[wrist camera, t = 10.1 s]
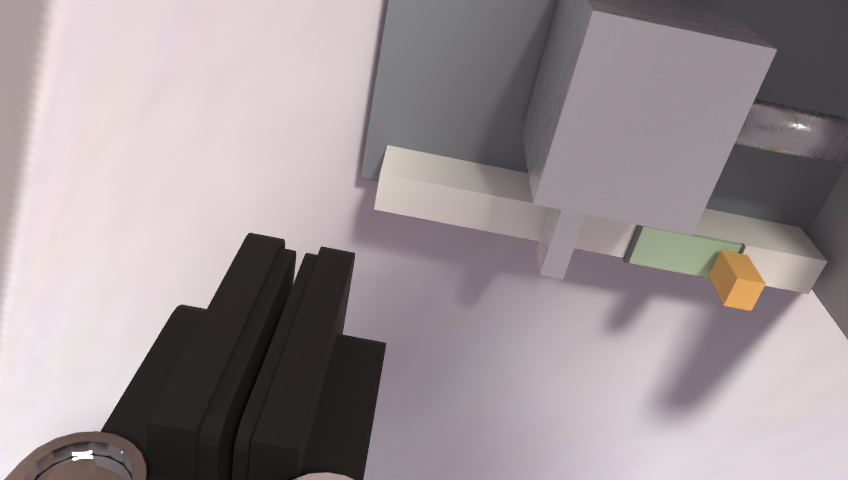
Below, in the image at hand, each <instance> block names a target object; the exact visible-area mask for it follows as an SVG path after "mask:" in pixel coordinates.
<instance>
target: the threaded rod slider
mask: <svg viewBox="0 0 848 480" xmlns="http://www.w3.org/2000/svg"><path fill="white" fill-rule="evenodd" d="M776 51H777V49H776V48H775V47H774V46H772V45H771V44H770V43H768V42H767V41H766V40H765V39H763V38H762V37H761V36H759V35H758V34H757V33H755V32H754V31H753V30H751V29H750V28H749V27H747V26H746V25H745V24H743V23H742V22H741V21H740V20H738V19H737V18H736V17H734V16H733V15H732V14H730V13H729V12H728V11H726V10H725V9H724V8H722V7H721V6H720V5H719V4H717V3H716V2H715V1H713V0H558V3H557V7H556V10H555V14H554V17H553V21H552V24H551V28H550V31H549V35H548V39H547V42H546V46H545V49H544V53H543V56H542V60H541V63H540V67H539V71H538V74H537V78H536V81H535V85H534V88H533V92H532V95H531V99H530V103H529V106H528V110H527V113H526V117H525V120H524V124H523V127H522V136H523V143H524V149H525V155H526V162H527V168H528V174H529V181H530V187H531V193H532V200H533V204H534V205H539V206H545V207H550V208H549V211H548V214H547V217H546V220H545V224H544V227H543V230H542V233H541V236H540V239H539V242H538V245H537V248H536V253H537V260H538V267H539V274H540V275H541V276H546V277H551V278H556V279H561V280H563V279H564V276H565V273H566V271H567V268H568V265H569V262H570V259H571V257H572V254H573V251H574V248H575V245H576V243H577V240H578V237H579V234H580V231H581V229H582V226H583V223H584V220H585V217H586V215H590V216H595V217H600V218H605V219H610V220H616V221H621V222H626V223H631V224H636V225H641V226H646V227H651V228H656V229H661V230H666V231H671V232H676V233H682V234H687V235H692V236H693V234H694V231H695V229H696V227H697V225H698V223H699V220H700V218H701V216H702V214H703V212H704V209H705V207H706V205H707V203H708V201H709V198H710V196H711V194H712V192H713V190H714V187H715V185H716V183H717V181H718V179H719V176H720V174H721V172H722V170H723V168H724V165H725V163H726V161H727V159H728V157H729V155H730V152H731V150H732V148H733V146H734V144H739V145H744V146H749V147H754V148H759V149H764V150H769V151H774V152H778V153H783V154H788V155H793V156H798V157H803V158H808V159H813V160H818V161H823V162H827V163H832V164H837V165H842V166H847V167H848V118H847V117H842V116H837V115H832V114H828V113H823V112H818V111H813V110H808V109H803V108H799V107H794V106H789V105H784V104H779V103H775V102H770V101H765V100H760V99H755V97H756V95H757V93H758V91H759V89H760V86H761V84H762V82H763V80H764V78H765V76H766V73H767V71H768V69H769V67H770V65H771V62H772V60H773V58H774V56H775V54H776Z"/></svg>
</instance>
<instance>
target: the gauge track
mask: <svg viewBox="0 0 848 480" xmlns="http://www.w3.org/2000/svg"><path fill="white" fill-rule="evenodd" d="M713 1H715V2H716V3H717V4H719V5H720V6H721V7H722V8H724V9H725V10H726V11H728V12H729V13H730V14H732V15H733V16H734V17H736V18H737V19H738V20H740V21H741V22H742V23H743V24H745V25H746V26H747V27H749V28H750V29H751V30H753V31H754V32H755V33H757V34H758V35H759V36H761V37H762V38H763V39H765V40H766V41H767V42H768V43H770V44H771V45H772V46H774V47H775V48H776V49H777V51H776V54H775V56H774V58H773V60H772V62H771V65H770V67H769V69H768V71H767V73H766V76H765V78H764V80H763V82H762V84H761V86H760V89H759V91H758V93H757V95H756V97H755V99H760V100H765V101H770V102H775V103H779V104H784V105H789V106H794V107H799V108H803V109H808V110H813V111H818V112H823V113H828V114H832V115H837V116H842V117H847V118H848V0H713ZM557 3H558V0H388V5H387V12H386V18H385V24H384V31H383V37H382V43H381V50H380V56H379V62H378V69H377V75H376V81H375V88H374V94H373V100H372V107H371V113H370V119H369V125H368V132H367V138H366V144H365V151H364V157H363V163H362V170H361V176H360V177H362V178H367V179H372V180H377V181H379V182H378V188H377V194H376V200H375V205H374V210H379V211H384V212H390V213H395V214H400V215H405V216H410V217H415V218H420V219H425V220H431V221H436V222H441V223H446V224H451V225H456V226H461V227H467V228H472V229H477V230H482V231H487V232H492V233H497V234H503V235H508V236H513V237H518V238H523V239H528V240H533V241H539V239H540V236H541V233H542V230H543V227H544V224H545V220H546V217H547V214H548V211H549V208H550V207H545V206H539V205H534V204H533V200H532V193H531V187H530V181H529V174H528V168H527V162H526V155H525V149H524V143H523V136H522V127H523V124H524V120H525V117H526V113H527V110H528V106H529V103H530V99H531V95H532V92H533V88H534V85H535V81H536V78H537V74H538V71H539V67H540V63H541V60H542V56H543V53H544V49H545V46H546V42H547V39H548V35H549V31H550V28H551V24H552V21H553V17H554V14H555V10H556V7H557ZM575 249H580V250H585V251H590V252H595V253H600V254H605V255H611V256H616V257H621V258H623V260H624V262H626V263H632V264H637V265H642V266H647V267H653V268H658V269H663V270H668V271H673V272H678V273H684V274H689V275H694V276H699V277H704V278H709V277H708V276H709V274H710V272H711V270H712V267H713V265H714V263H715V261H716V259H717V257H718V255H719V253H720V251H721V250H724V251H729V252H734V253H739V254H744V255H748V256H749V258H750V260H751V261H752V263H753V264H754V266H755V268H756V269H757V271H758V272H759V274H760V275H761V277H762V279H763V280H764V282H765V283H766V285H765V286H770V287H775V288H780V289H785V290H790V291H796V292H801V293H806V294H809V292H810V290H811V289H812V290H813V292H814V293H815V295H816V296H817V297H818V299H819V300H820V301H821V303H822V304H823V306H824V307H825V308H826V310H827V311H828V313H829V314H830V315H831V317H832V318H833V320H834V321H835V322H836V324H837V325H838V327H839V328H840V329H841V331H842V332H843V333H844V335H845V336H846V338H847V339H848V167H847V166H842V165H837V164H832V163H827V162H823V161H818V160H813V159H808V158H803V157H798V156H793V155H788V154H783V153H778V152H774V151H769V150H764V149H759V148H754V147H749V146H744V145H739V144H734V146H733V148H732V150H731V152H730V155H729V157H728V159H727V161H726V163H725V165H724V168H723V170H722V172H721V174H720V176H719V179H718V181H717V183H716V185H715V187H714V190H713V192H712V194H711V196H710V198H709V201H708V203H707V205H706V207H705V209H704V212H703V214H702V216H701V218H700V220H699V223H698V225H697V227H696V229H695V231H694V234H693V236H692V235H687V234H682V233H676V232H671V231H666V230H661V229H656V228H651V227H646V226H641V225H636V224H631V223H626V222H621V221H616V220H610V219H605V218H600V217H595V216H590V215H586V217H585V220H584V223H583V226H582V229H581V231H580V234H579V237H578V240H577V243H576V245H575Z"/></svg>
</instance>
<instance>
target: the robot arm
mask: <svg viewBox="0 0 848 480" xmlns="http://www.w3.org/2000/svg"><path fill="white" fill-rule="evenodd" d="M354 260H355V253H353V252H347V251H342V250H337V249H332V248H327V247H321V248H320V250H319V253H318V255H315V254H309V253H306V254H305V256H304V258H303V261H302V264H301V266H300V269H299V271H298V274H297V276H296V279H295V282H294V284H293V281H294V272H295V263H296V251H294V250H289V249H285V240H284V239H280V238H275V237H270V236H264V235H259V234H254V233H248V235H247V236H246V238H245V240H244V242H243V243H242V245H241V247H240V249H239V251H238V253H237V255H236V256H235V258H234V260H233V262H232V264H231V266H230V267H229V269H228V271H227V273H226V275H225V277H224V279H223V280H222V282H221V284H220V286H219V288H218V290H217V292H216V293H215V295H214V297H213V299H212V301H211V303H210V304H209V306H208V308H207V309H202V308H197V307H192V306H186V305H179V306H178V307H177V308H176V309H175V310H174V311H173V313H172V314H171V316H170V318H169V319H168V321H167V323H166V324H165V326H164V328H163V329H162V331H161V332H160V334H159V336H158V337H157V339H156V341H155V342H154V344H153V346H152V347H151V349H150V351H149V352H148V354H147V356H146V357H145V359H144V361H143V362H142V364H141V366H140V367H139V369H138V370H137V372H136V374H135V375H134V377H133V379H132V380H131V382H130V384H129V385H128V387H127V389H126V390H125V392H124V394H123V395H122V397H121V399H120V400H119V402H118V404H117V405H116V407H115V409H114V410H113V412H112V413H111V415H110V417H109V418H108V420H107V422H106V423H105V425H104V427H103V428H102V430H101V432H98V431H94V432H78V433H73V434H70V435H66V436H62V437H59V438H56V439H54V440H52V441H50V442H48V443H46V444H44V445H42V446H40V447H38V448H36V449H35V450H34V451H33V452H32V453H31V454H29V455H28V456H27V457H26V458H25V459H23V460H22V461H21V462H20V463H19V464H18V465H17V466H16V467H15V469H14V470H13V471H12V472H11V473H10V474H9V475H8V476H7V477H6V478H5V479H4V480H363V478H364V472H365V466H366V460H367V454H368V448H369V442H370V436H371V430H372V425H373V419H374V413H375V407H376V401H377V395H378V389H379V383H380V377H381V372H382V366H383V360H384V354H385V348H386V343H384V342H378V341H373V340H368V339H362V338H357V337H352V336H346V335H342V334H343V328H344V322H345V316H346V310H347V303H348V297H349V291H350V285H351V279H352V273H353V266H354Z"/></svg>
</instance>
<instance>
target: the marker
mask: <svg viewBox="0 0 848 480" xmlns="http://www.w3.org/2000/svg"><path fill="white" fill-rule="evenodd" d="M708 277H709V279H710V280H711V282H712V284H713V286H714V288H715V290H716V292H717V294H718V296H719V298H720V300H721V302H722V304H723V306H728V307H733V308H738V309H743V310H748V311H751V310H752V309H753V307H754V305H755V303H756V301H757V299H758V298H759V296H760V294H761V292H762V290H763V288H764V287H765V285H766V283H765V282H764V280H763V279H762V277H761V275H760V274H759V272H758V271H757V269H756V268H755V266H754V264H753V263H752V261H751V260H750V258H749V256H748V255H744V254H739V253H734V252H729V251H724V250H721V251H720V253H719V255H718V257H717V259H716V261H715V263H714V265H713V267H712V270H711V272H710V274H709V276H708Z"/></svg>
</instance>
